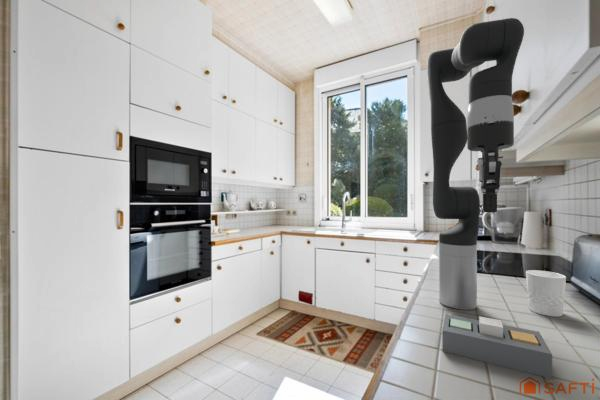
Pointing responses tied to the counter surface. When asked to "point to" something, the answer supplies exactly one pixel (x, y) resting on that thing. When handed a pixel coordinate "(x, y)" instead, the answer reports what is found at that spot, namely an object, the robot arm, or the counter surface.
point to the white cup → (545, 292)
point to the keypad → (498, 347)
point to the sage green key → (460, 324)
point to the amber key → (523, 337)
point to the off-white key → (491, 327)
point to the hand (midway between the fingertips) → (489, 212)
